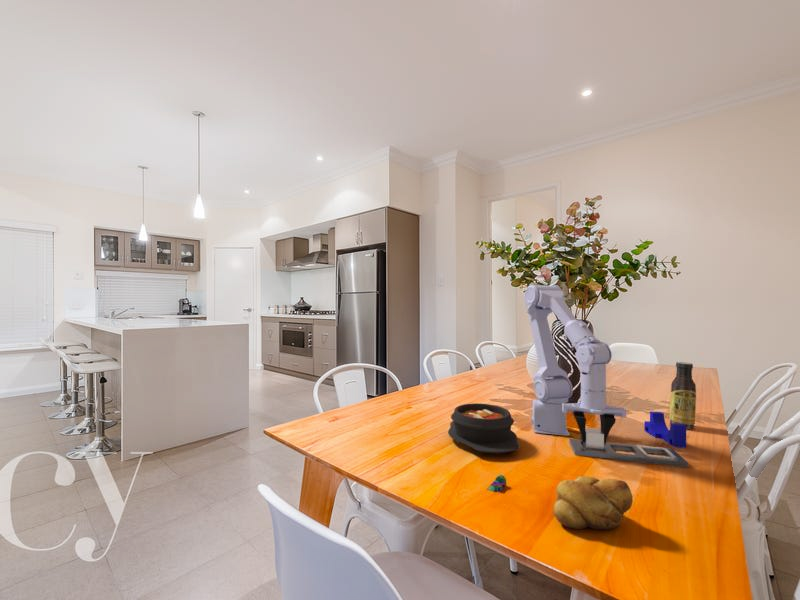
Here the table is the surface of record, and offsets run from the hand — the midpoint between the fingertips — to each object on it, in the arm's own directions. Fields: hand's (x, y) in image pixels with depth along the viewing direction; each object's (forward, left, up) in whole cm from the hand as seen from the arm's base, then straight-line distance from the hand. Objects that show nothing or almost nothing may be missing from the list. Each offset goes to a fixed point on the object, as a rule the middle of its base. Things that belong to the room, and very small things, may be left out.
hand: (593, 442), depth 92 cm
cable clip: (+21, +15, -3) cm, 26 cm away
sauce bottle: (+31, +28, -2) cm, 42 cm away
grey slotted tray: (+7, 0, -2) cm, 7 cm away
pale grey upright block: (0, 0, -2) cm, 2 cm away
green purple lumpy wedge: (-23, -26, -3) cm, 35 cm away
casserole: (-28, -1, -3) cm, 28 cm away
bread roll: (-8, -32, -3) cm, 34 cm away
